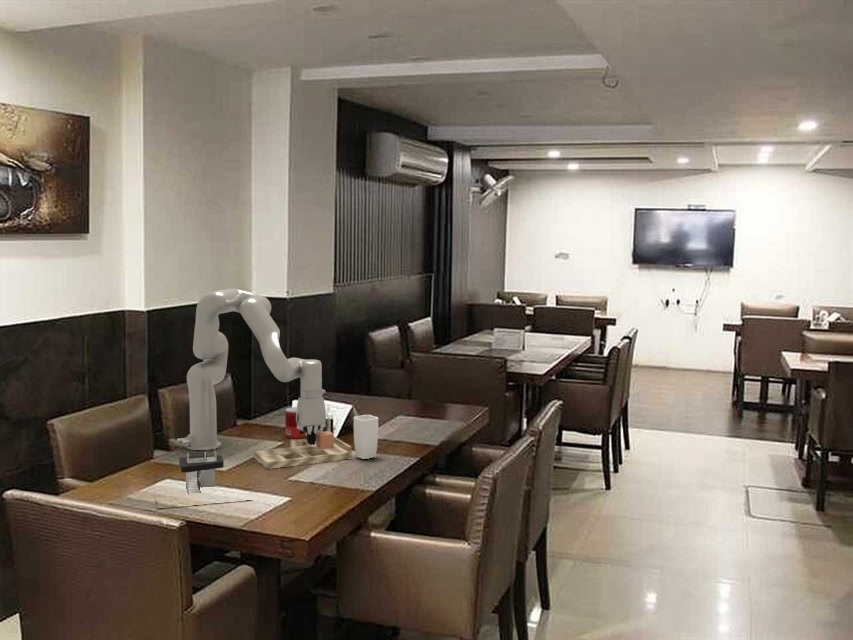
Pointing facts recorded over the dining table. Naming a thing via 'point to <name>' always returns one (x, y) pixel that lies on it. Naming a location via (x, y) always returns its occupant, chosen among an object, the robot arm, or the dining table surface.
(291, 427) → the canned food
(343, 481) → the dining table surface
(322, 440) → the block
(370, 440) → the cup
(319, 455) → the board
